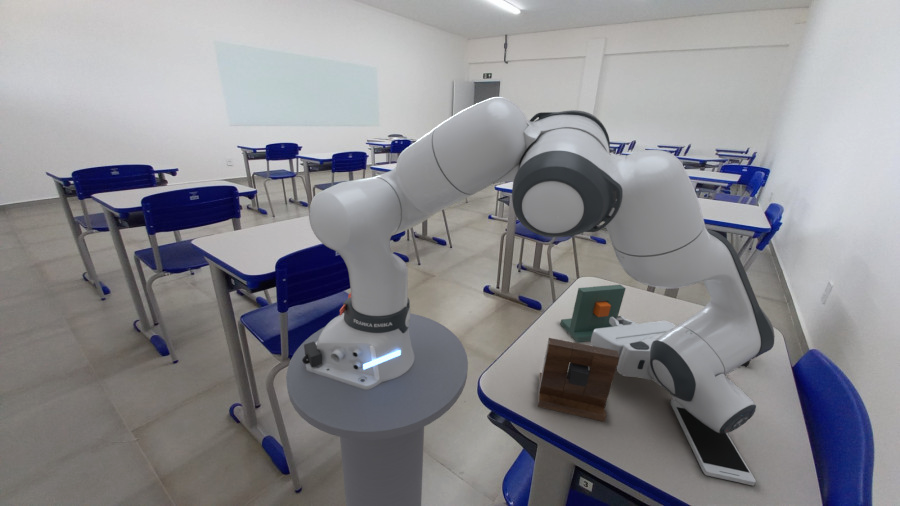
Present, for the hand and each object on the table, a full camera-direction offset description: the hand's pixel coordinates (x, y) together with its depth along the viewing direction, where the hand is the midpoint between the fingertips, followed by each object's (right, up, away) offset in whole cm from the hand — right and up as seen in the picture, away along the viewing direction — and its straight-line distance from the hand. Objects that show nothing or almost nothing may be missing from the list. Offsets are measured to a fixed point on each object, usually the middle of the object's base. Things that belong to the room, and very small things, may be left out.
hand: (614, 318), depth 82 cm
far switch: (-1, 0, +5) cm, 5 cm away
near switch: (-15, -8, -17) cm, 24 cm away
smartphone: (+7, -18, -20) cm, 27 cm away
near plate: (-15, -13, -13) cm, 24 cm away
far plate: (-2, -5, +9) cm, 11 cm away
